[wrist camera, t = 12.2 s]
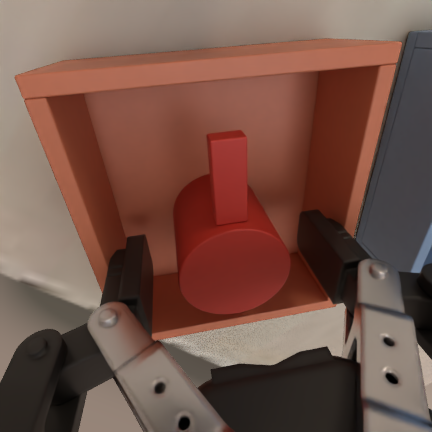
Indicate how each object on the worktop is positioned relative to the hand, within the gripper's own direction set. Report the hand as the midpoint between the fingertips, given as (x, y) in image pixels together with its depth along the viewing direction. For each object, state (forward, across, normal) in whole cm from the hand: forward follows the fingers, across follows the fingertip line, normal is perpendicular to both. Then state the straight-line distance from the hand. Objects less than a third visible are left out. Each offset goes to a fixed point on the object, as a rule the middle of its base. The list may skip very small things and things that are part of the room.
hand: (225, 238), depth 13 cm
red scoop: (+3, 0, -1) cm, 3 cm away
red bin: (+3, 0, -1) cm, 4 cm away
